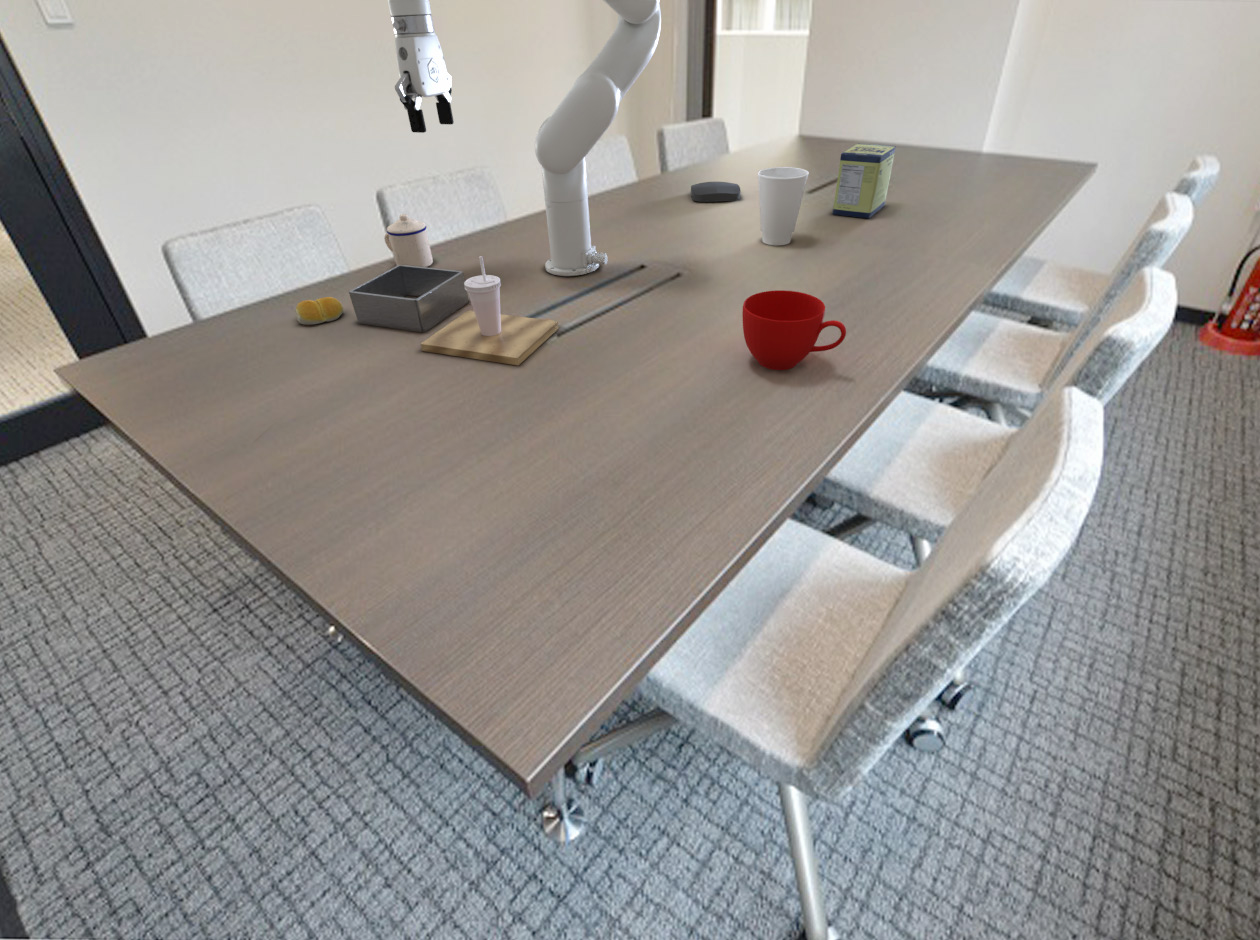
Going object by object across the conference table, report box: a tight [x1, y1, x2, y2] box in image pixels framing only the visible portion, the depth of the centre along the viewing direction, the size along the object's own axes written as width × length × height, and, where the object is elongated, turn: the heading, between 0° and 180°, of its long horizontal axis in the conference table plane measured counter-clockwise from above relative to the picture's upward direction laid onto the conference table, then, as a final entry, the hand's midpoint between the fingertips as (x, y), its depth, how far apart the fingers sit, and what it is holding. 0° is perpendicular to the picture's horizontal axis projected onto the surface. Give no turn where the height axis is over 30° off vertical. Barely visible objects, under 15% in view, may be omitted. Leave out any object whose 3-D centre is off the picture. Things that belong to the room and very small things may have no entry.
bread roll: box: [294, 296, 344, 326], centre depth 130 cm, size 8×9×4 cm
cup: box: [757, 166, 810, 246], centre depth 155 cm, size 12×12×16 cm
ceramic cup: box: [741, 289, 847, 371], centre depth 105 cm, size 13×17×10 cm
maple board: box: [420, 309, 560, 366], centre depth 119 cm, size 20×16×2 cm
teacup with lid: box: [383, 213, 434, 268], centre depth 153 cm, size 12×9×12 cm
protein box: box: [832, 143, 896, 220], centre depth 175 cm, size 10×16×16 cm
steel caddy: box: [348, 265, 470, 333], centre depth 130 cm, size 16×16×6 cm
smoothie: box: [464, 255, 502, 336], centre depth 115 cm, size 6×6×14 cm
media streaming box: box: [690, 181, 742, 203], centre depth 196 cm, size 15×15×3 cm
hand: (433, 128), depth 132 cm, fingers open, 9 cm apart
